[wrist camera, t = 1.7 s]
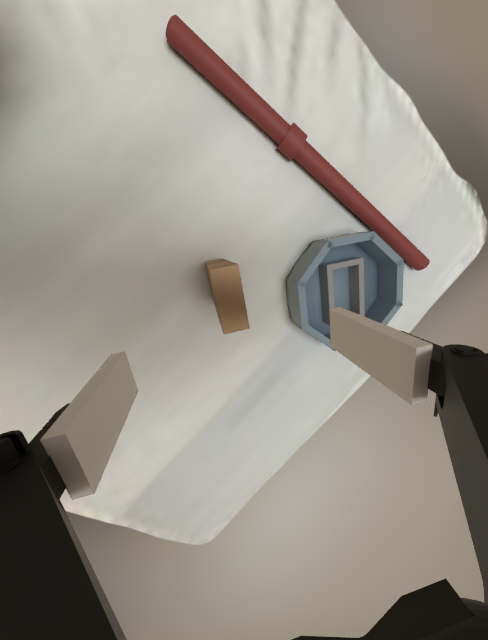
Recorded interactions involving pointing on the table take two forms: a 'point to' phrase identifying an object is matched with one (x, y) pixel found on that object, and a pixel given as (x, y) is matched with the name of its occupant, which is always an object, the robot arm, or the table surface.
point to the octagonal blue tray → (345, 282)
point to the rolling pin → (287, 137)
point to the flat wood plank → (227, 295)
